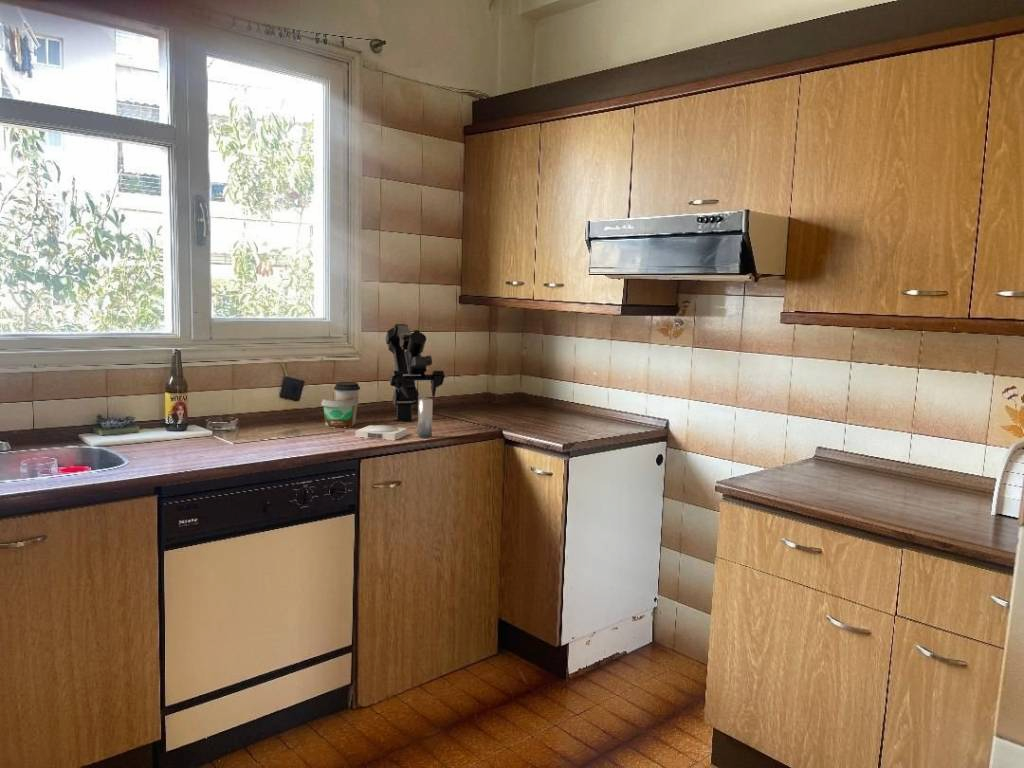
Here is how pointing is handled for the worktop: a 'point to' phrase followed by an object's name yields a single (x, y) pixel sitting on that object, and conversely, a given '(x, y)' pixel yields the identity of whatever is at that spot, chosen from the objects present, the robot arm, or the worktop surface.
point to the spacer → (425, 417)
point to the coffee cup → (347, 393)
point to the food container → (338, 413)
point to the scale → (381, 432)
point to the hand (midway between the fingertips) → (420, 397)
